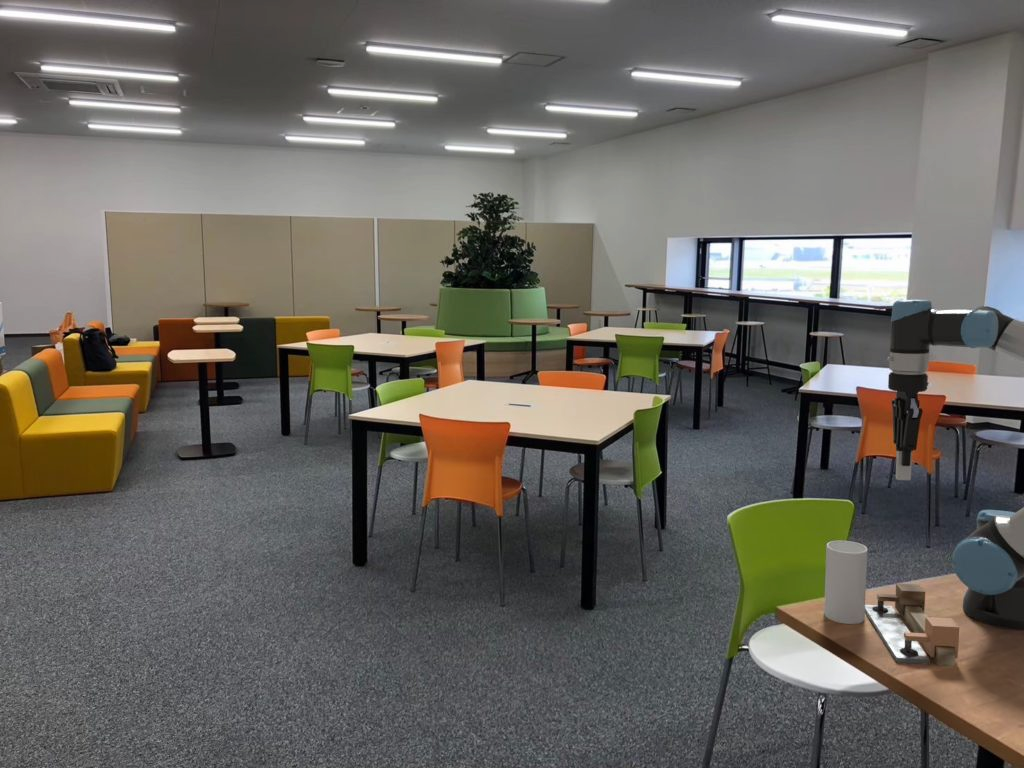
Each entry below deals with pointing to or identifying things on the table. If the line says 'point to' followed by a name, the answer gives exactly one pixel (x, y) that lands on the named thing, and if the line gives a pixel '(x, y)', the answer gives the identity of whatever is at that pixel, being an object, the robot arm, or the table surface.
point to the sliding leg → (936, 635)
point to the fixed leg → (904, 597)
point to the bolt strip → (895, 635)
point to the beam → (917, 624)
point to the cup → (845, 582)
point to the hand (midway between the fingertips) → (903, 479)
